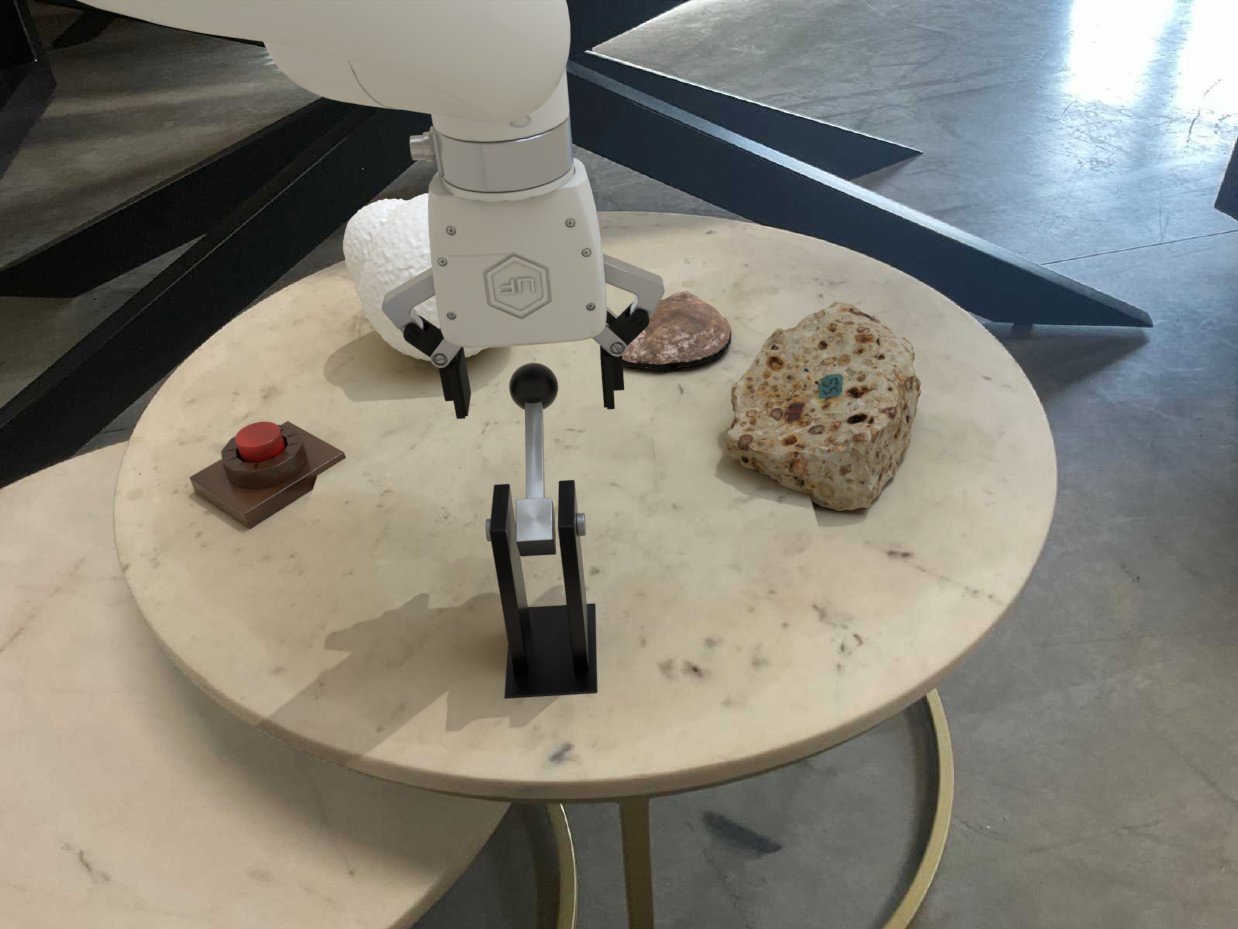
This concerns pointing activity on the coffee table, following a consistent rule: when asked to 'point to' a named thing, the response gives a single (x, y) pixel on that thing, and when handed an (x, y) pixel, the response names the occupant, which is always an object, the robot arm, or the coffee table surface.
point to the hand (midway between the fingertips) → (536, 402)
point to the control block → (265, 476)
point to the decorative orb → (391, 262)
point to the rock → (827, 407)
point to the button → (259, 442)
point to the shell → (679, 335)
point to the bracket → (544, 607)
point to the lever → (534, 460)
